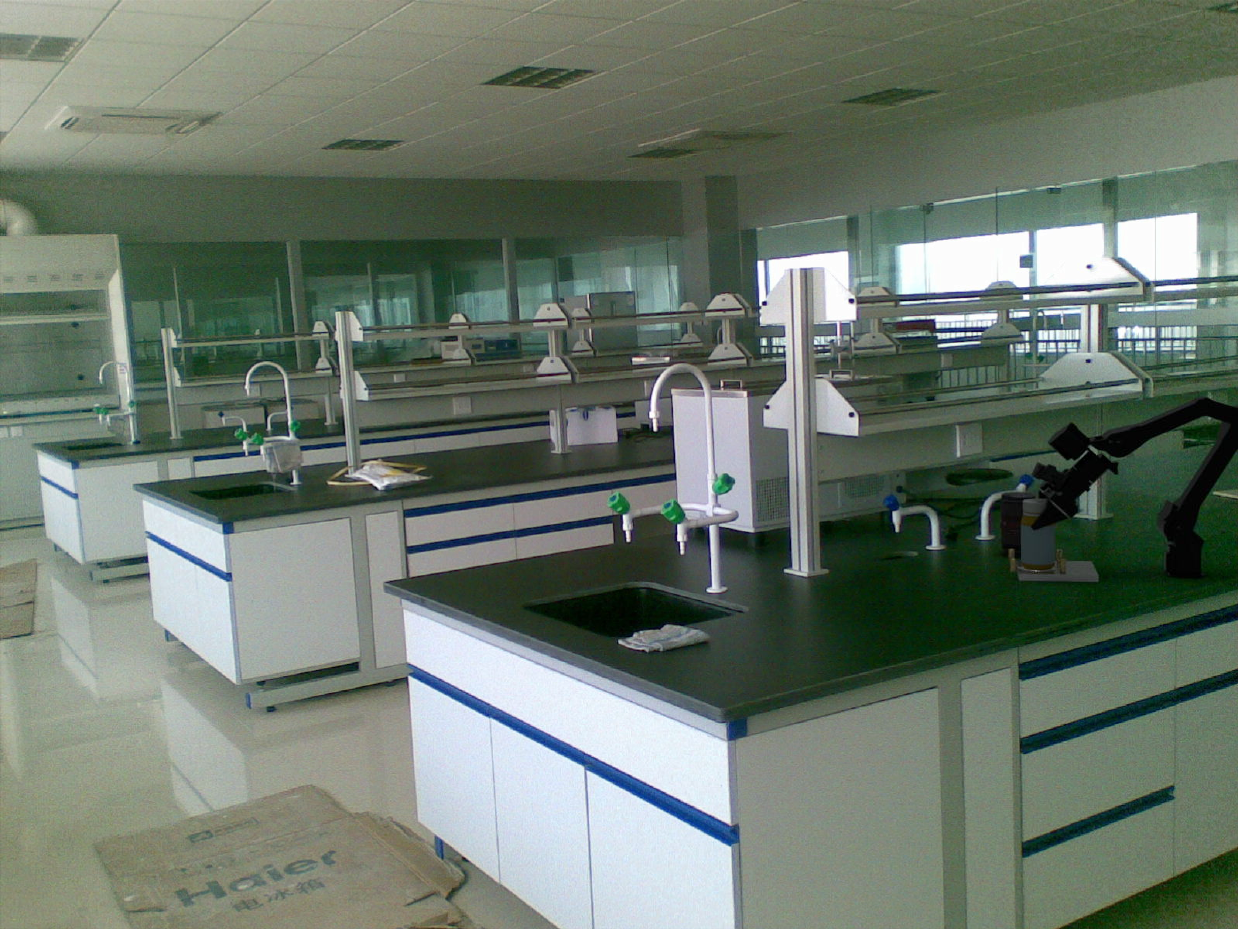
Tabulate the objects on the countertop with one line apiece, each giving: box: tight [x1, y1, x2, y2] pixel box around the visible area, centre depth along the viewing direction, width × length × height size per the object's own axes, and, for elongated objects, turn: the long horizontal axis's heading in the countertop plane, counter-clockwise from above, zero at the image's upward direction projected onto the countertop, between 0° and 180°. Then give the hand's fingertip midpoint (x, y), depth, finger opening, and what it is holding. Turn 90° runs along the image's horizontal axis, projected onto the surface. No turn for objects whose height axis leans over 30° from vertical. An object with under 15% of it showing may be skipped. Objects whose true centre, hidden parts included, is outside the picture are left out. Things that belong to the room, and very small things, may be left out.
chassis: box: [1008, 548, 1099, 583], centre depth 241 cm, size 18×14×4 cm
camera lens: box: [999, 491, 1036, 559], centre depth 261 cm, size 8×8×15 cm
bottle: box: [1020, 498, 1056, 570], centre depth 241 cm, size 7×7×15 cm
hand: (1029, 525), depth 241 cm, fingers open, 9 cm apart
